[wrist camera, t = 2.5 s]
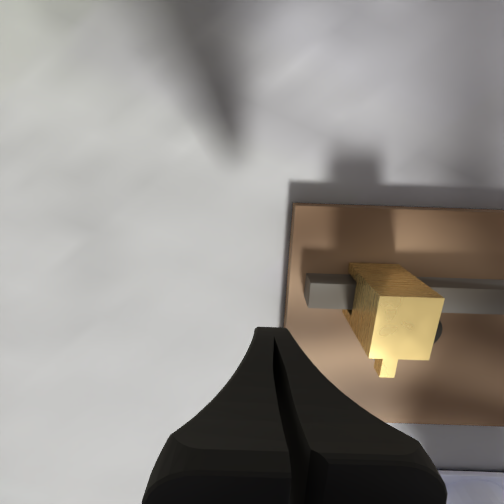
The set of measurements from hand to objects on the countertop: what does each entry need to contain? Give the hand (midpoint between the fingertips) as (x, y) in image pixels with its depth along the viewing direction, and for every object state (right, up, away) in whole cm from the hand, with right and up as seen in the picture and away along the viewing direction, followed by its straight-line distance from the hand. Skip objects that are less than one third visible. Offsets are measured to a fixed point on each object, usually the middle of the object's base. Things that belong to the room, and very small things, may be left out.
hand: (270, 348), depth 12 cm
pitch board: (+12, -1, +8) cm, 15 cm away
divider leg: (+7, +1, +6) cm, 9 cm away
